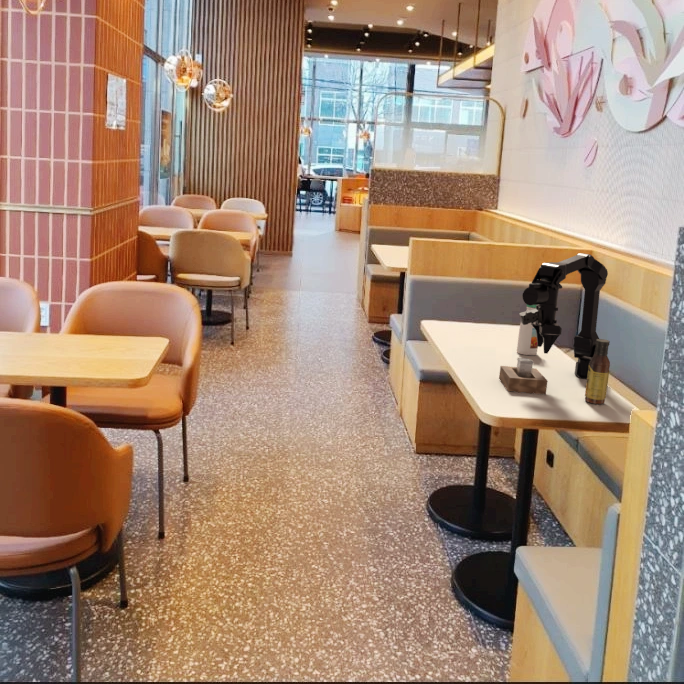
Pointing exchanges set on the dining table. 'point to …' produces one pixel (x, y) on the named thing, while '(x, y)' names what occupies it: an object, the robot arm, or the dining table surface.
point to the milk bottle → (527, 337)
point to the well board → (523, 381)
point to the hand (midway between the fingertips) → (542, 349)
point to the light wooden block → (524, 367)
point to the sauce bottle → (598, 374)
